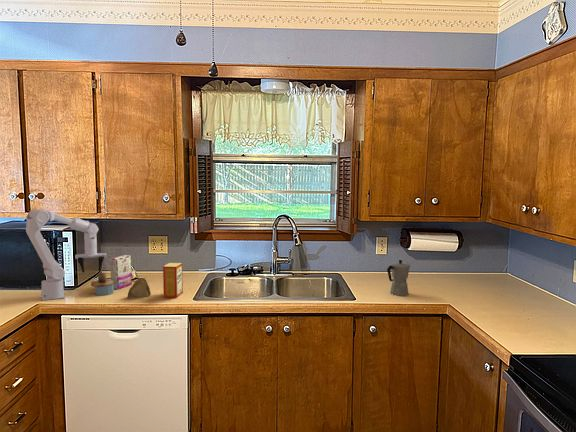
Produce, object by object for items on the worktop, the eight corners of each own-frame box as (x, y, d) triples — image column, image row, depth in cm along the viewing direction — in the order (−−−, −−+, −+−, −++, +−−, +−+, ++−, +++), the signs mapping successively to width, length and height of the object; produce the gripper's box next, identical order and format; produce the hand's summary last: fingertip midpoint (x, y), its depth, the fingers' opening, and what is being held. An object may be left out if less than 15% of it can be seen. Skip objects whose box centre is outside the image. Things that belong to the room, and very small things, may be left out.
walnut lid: (92, 288, 206) (92, 276, 205) (89, 283, 214) (89, 272, 214) (115, 285, 211) (114, 274, 211) (111, 281, 220) (111, 270, 219)
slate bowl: (95, 296, 207) (95, 287, 206) (94, 292, 214) (94, 283, 214) (114, 294, 211) (114, 285, 210) (112, 290, 218) (112, 282, 218)
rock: (122, 295, 201) (141, 293, 200) (125, 278, 206) (144, 276, 205) (132, 303, 210) (151, 301, 209) (135, 287, 215) (153, 285, 214)
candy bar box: (124, 283, 232) (124, 254, 230) (132, 284, 230) (131, 255, 228) (110, 288, 221) (109, 258, 220) (118, 289, 219) (117, 259, 218)
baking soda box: (170, 292, 215) (169, 262, 214) (182, 292, 215) (182, 262, 214) (163, 297, 206) (163, 265, 205) (176, 298, 206) (176, 266, 204)
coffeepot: (402, 290, 225) (403, 257, 223) (415, 294, 217) (416, 260, 215) (380, 293, 217) (381, 259, 216) (393, 298, 209) (394, 263, 208)
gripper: (74, 247, 210) (75, 274, 211) (105, 246, 215) (106, 272, 216) (75, 245, 216) (76, 271, 218) (106, 244, 221) (107, 269, 223)
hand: (91, 271), depth 217 cm, fingers open, 7 cm apart
